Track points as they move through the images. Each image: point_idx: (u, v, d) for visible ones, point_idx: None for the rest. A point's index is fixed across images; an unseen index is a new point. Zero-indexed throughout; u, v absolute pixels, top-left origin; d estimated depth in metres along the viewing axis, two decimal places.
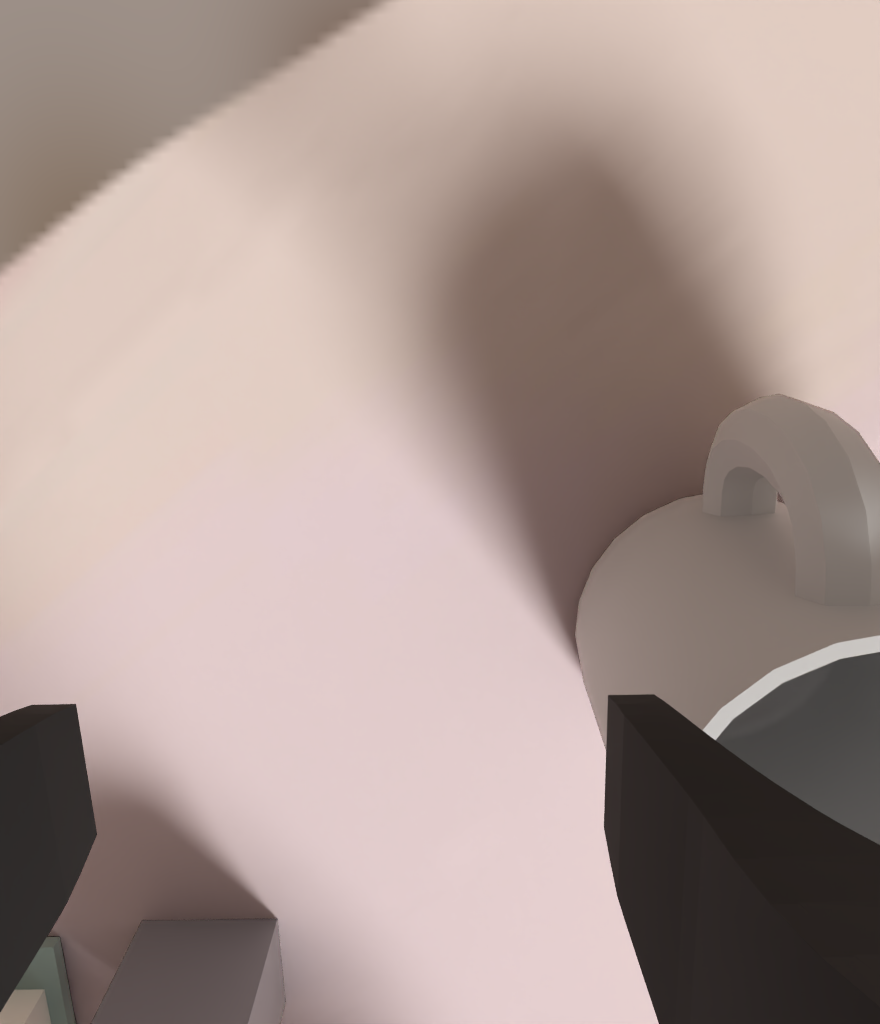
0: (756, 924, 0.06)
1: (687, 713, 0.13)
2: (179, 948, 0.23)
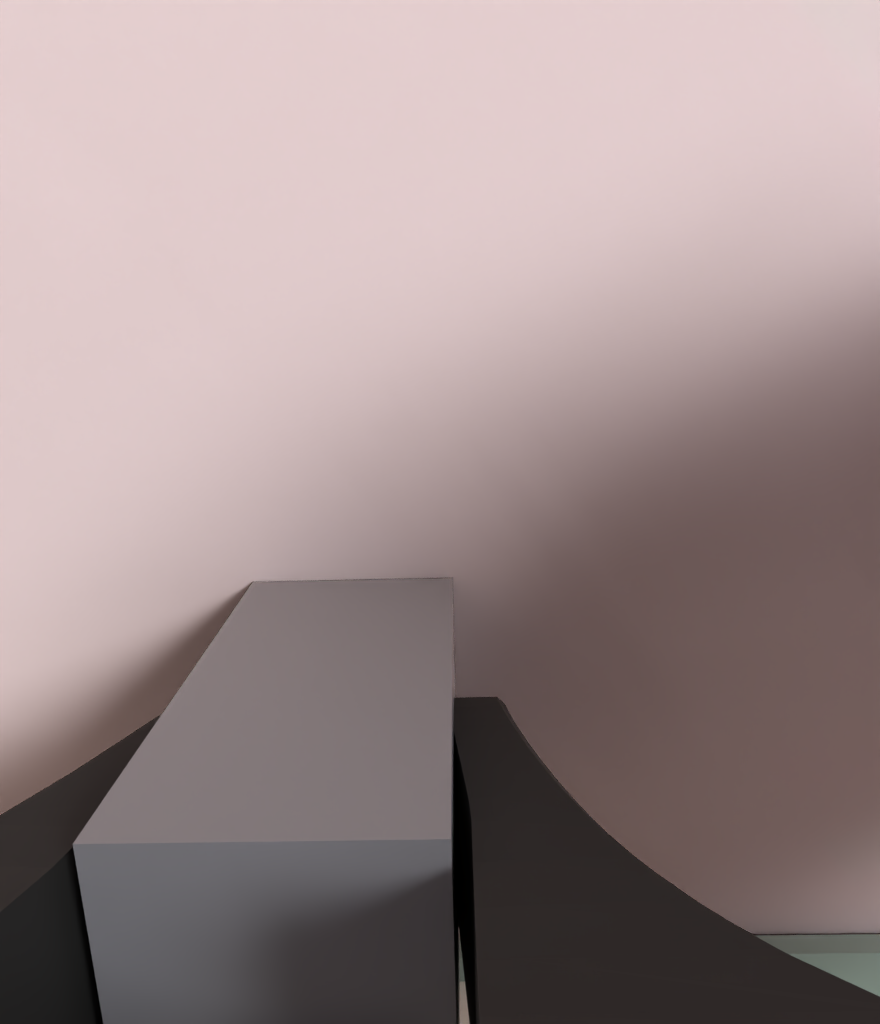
0: None
1: None
2: None
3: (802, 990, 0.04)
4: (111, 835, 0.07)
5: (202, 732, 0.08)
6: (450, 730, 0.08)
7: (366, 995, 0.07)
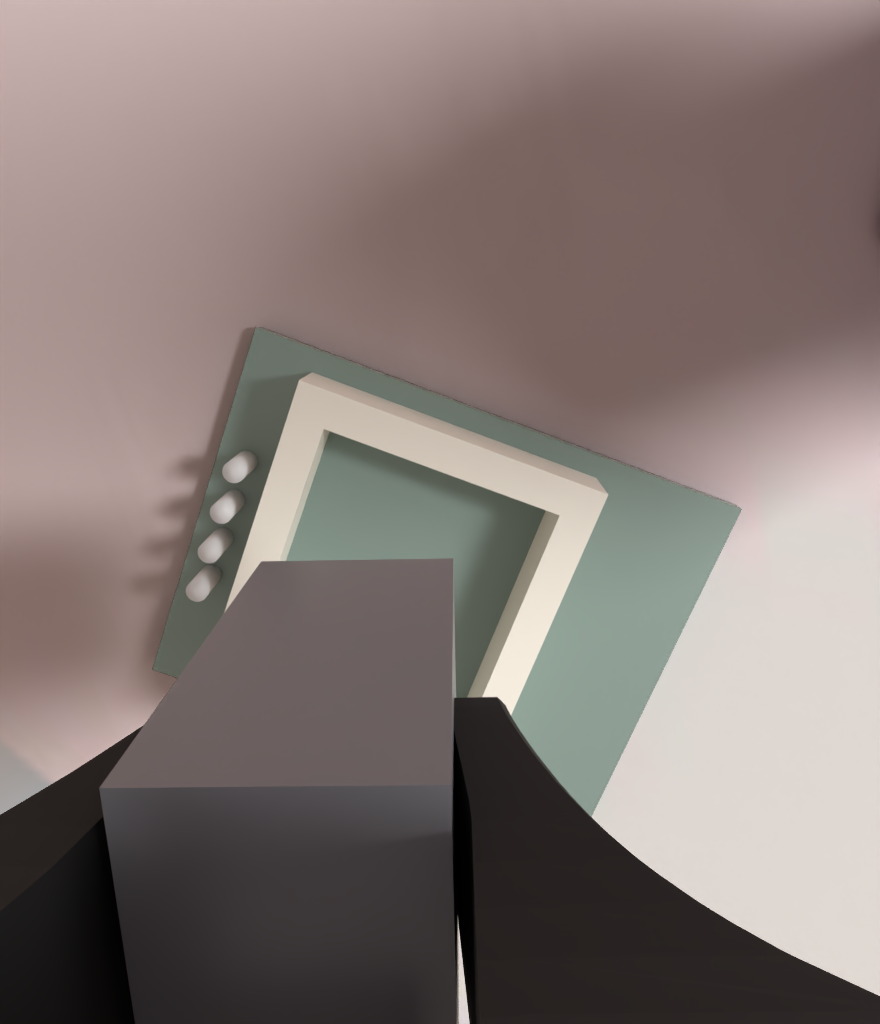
0: (475, 927, 0.06)
1: None
2: None
3: (802, 990, 0.04)
4: (133, 782, 0.07)
5: (215, 694, 0.09)
6: (450, 692, 0.08)
7: (371, 933, 0.07)
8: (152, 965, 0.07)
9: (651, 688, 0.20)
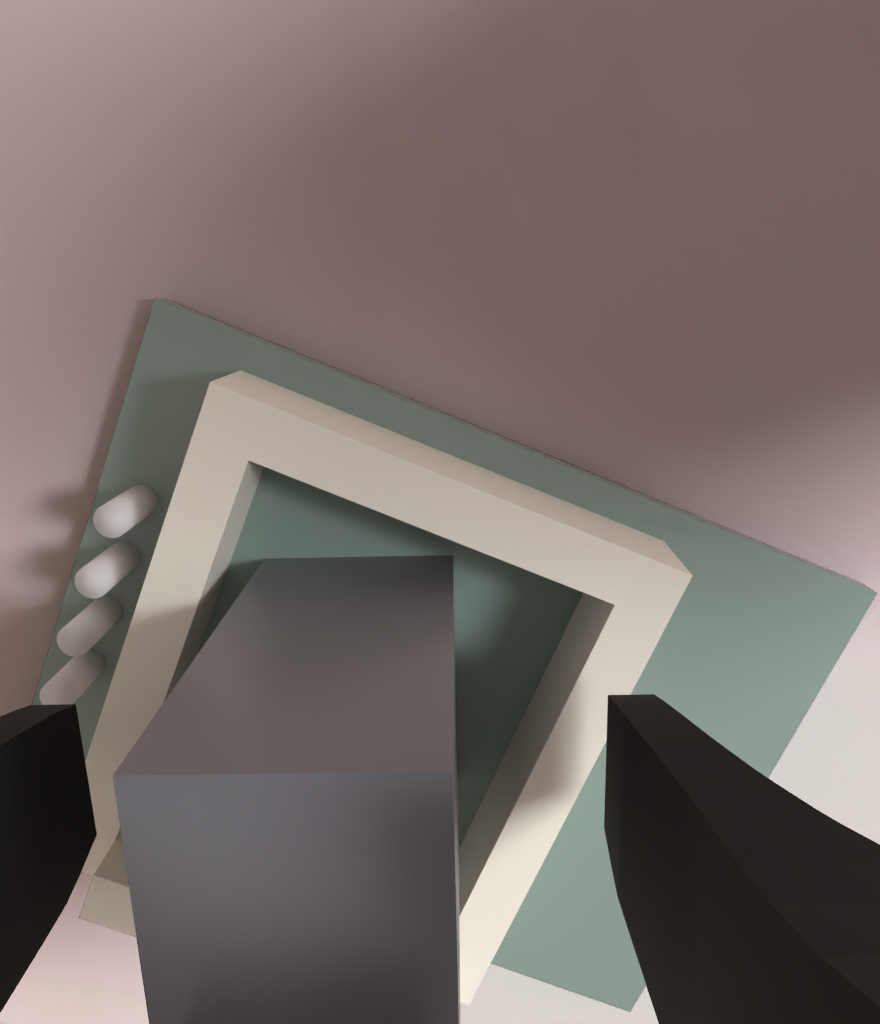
0: (756, 924, 0.06)
1: None
2: None
3: None
4: (145, 768, 0.07)
5: (223, 685, 0.09)
6: (451, 684, 0.09)
7: (377, 915, 0.08)
8: (163, 948, 0.08)
9: None
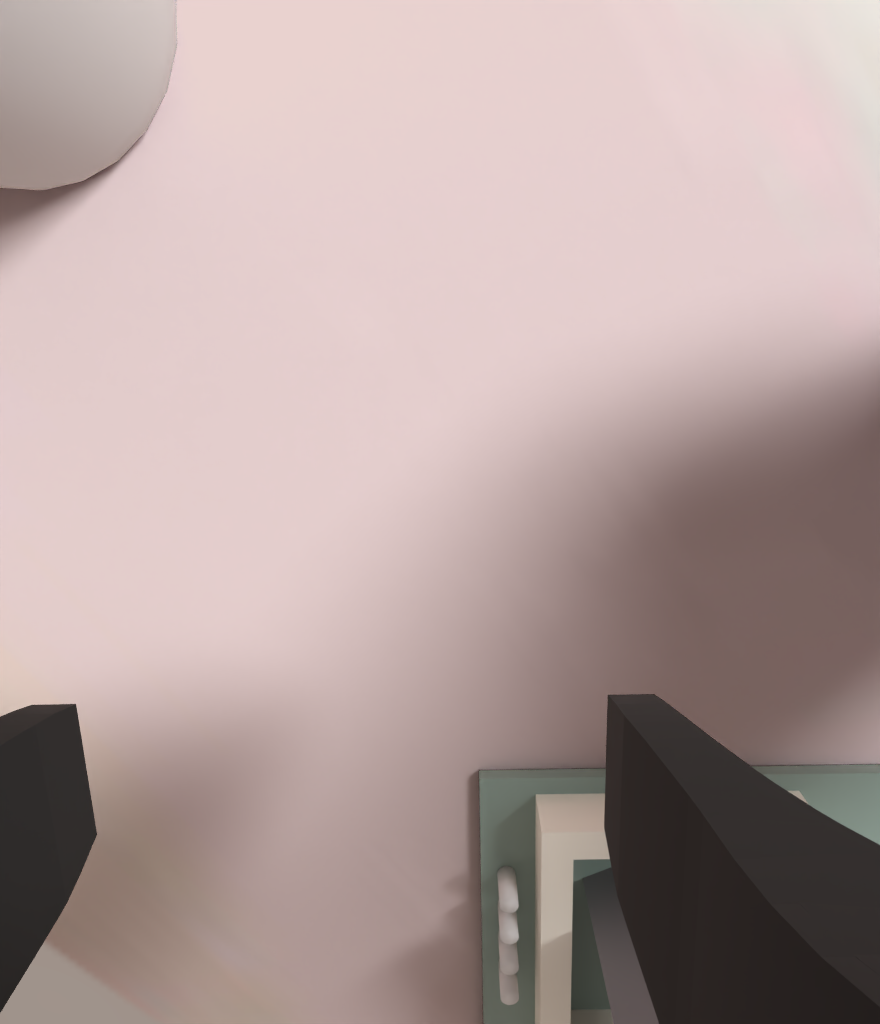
0: (756, 924, 0.06)
1: None
2: None
3: None
4: None
5: (633, 1003, 0.18)
6: None
7: None
8: None
9: None
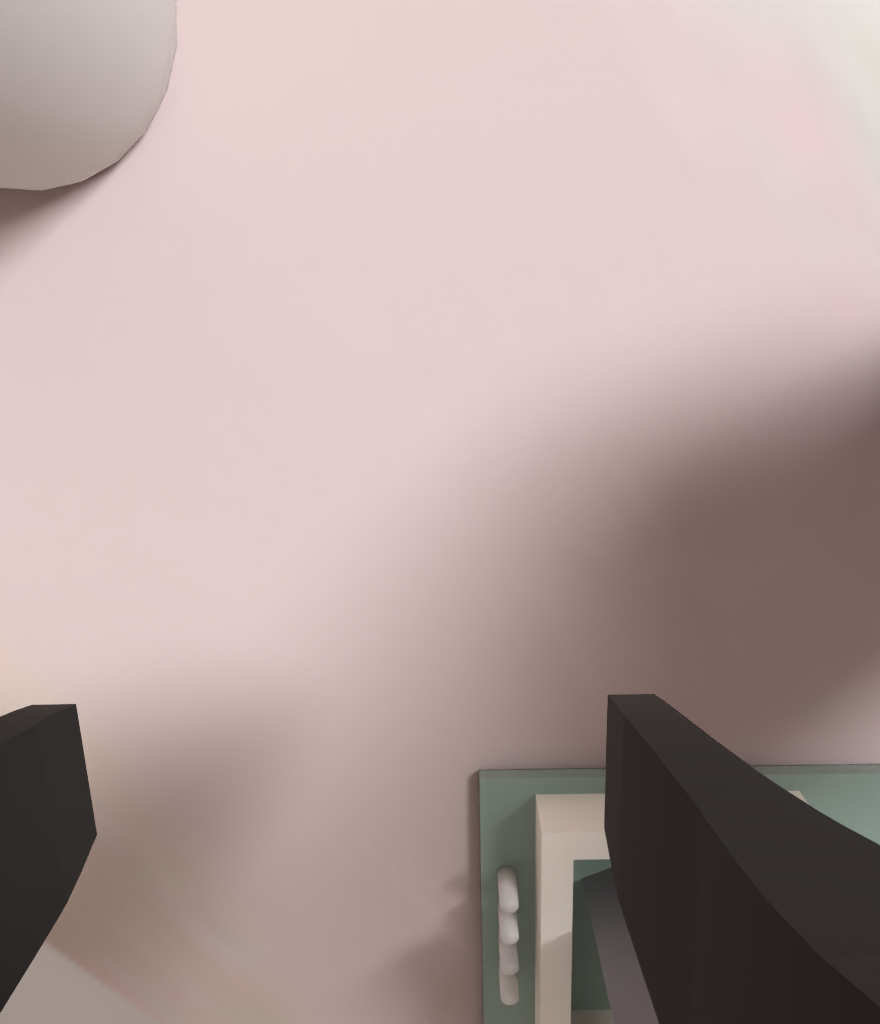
0: (756, 925, 0.06)
1: None
2: None
3: None
4: None
5: (633, 1003, 0.18)
6: None
7: None
8: None
9: None
